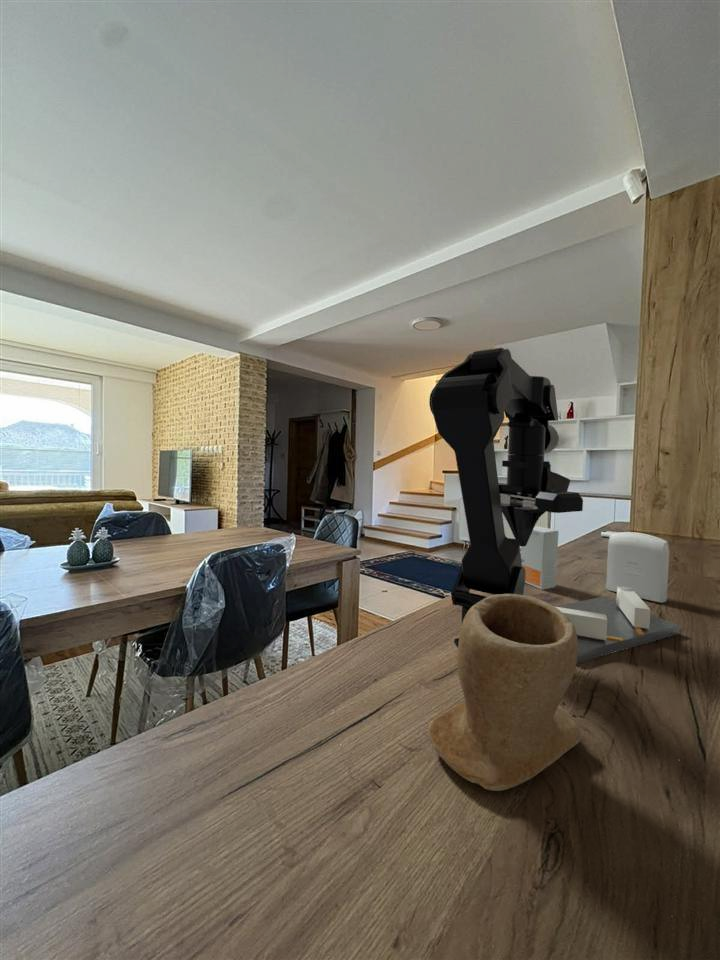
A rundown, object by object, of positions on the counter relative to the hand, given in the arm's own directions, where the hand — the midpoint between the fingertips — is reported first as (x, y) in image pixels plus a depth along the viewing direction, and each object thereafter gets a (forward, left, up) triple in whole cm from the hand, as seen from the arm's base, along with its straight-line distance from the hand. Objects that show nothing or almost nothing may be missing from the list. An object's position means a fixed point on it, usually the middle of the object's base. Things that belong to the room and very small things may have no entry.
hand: (522, 545), depth 72 cm
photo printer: (+28, -2, -12) cm, 30 cm away
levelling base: (+5, -9, -12) cm, 16 cm away
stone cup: (-25, -25, -12) cm, 37 cm away
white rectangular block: (-2, -11, -10) cm, 15 cm away
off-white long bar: (+13, -11, -10) cm, 20 cm away
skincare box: (+15, +10, -12) cm, 22 cm away
